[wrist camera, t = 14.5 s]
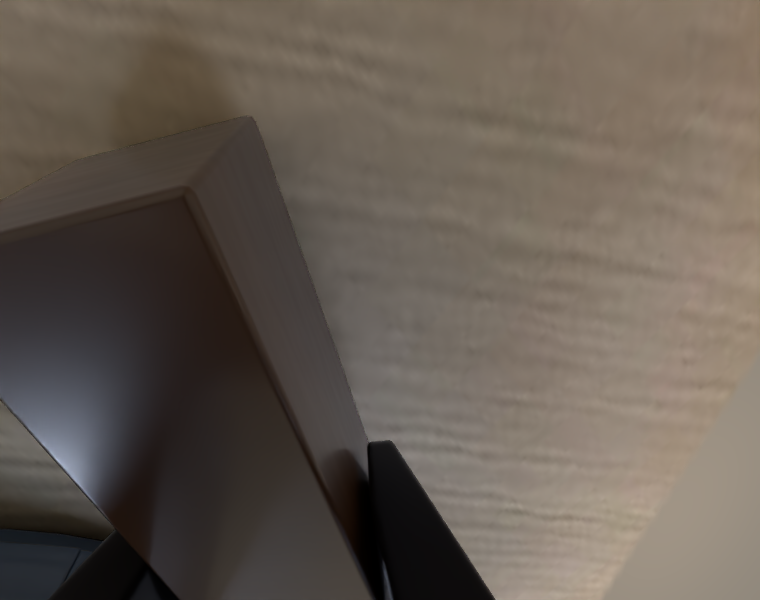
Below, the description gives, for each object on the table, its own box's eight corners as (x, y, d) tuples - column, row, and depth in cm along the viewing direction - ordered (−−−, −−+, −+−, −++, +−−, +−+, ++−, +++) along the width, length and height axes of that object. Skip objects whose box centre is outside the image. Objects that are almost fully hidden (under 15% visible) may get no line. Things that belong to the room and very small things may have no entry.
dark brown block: (254, 112, 6) (188, 184, 3) (399, 528, 10) (419, 694, 8) (73, 160, 6) (-128, 265, 3) (296, 550, 11) (283, 720, 8)
